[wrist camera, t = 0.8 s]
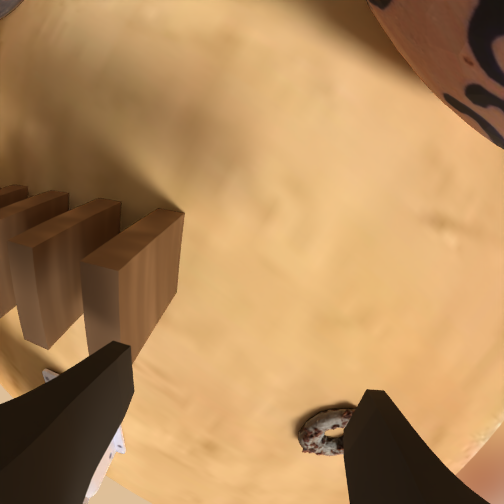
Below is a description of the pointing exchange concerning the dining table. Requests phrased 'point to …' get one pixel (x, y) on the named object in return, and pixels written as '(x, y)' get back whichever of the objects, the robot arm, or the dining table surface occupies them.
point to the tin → (8, 6)
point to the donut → (314, 433)
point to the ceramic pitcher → (454, 54)
